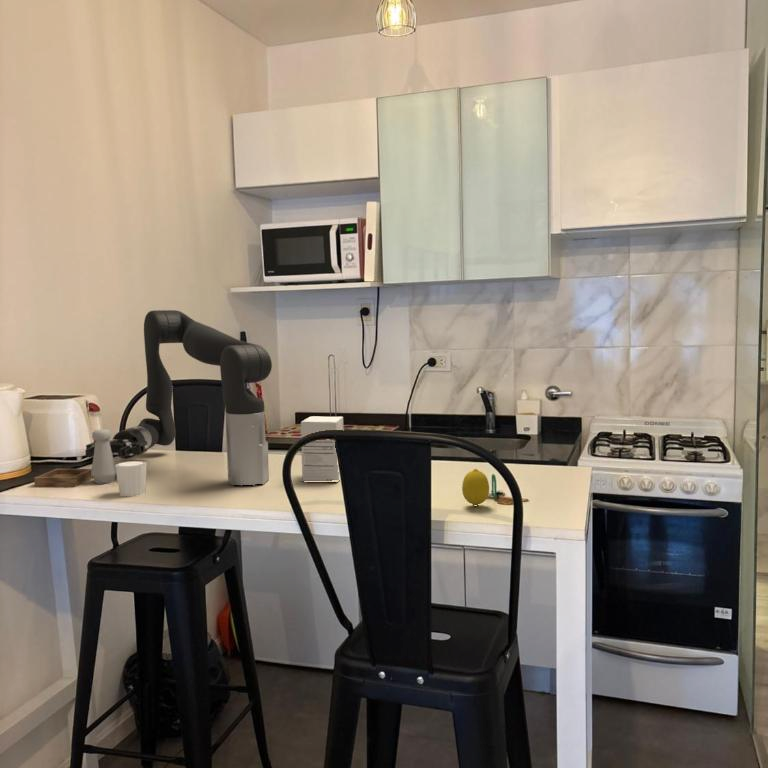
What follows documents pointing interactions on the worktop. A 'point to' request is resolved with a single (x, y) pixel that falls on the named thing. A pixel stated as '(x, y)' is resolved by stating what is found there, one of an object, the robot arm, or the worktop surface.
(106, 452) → the salt shaker
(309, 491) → the worktop surface
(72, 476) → the wooden tray
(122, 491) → the shot glass
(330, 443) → the supplement box
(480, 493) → the lemon
